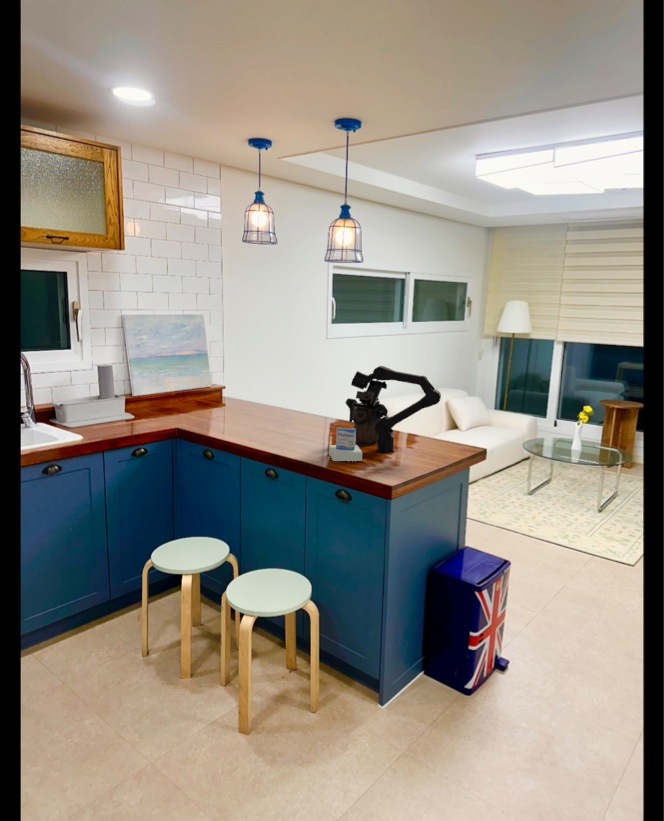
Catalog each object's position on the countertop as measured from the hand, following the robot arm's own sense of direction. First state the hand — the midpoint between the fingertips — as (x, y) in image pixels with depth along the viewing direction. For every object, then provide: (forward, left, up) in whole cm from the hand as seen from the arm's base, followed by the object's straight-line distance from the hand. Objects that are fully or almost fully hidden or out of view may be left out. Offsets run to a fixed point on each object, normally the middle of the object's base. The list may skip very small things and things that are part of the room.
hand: (359, 424), depth 241 cm
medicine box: (+6, +5, -10) cm, 13 cm away
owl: (-8, -22, -14) cm, 27 cm away
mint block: (+6, +5, -13) cm, 16 cm away
